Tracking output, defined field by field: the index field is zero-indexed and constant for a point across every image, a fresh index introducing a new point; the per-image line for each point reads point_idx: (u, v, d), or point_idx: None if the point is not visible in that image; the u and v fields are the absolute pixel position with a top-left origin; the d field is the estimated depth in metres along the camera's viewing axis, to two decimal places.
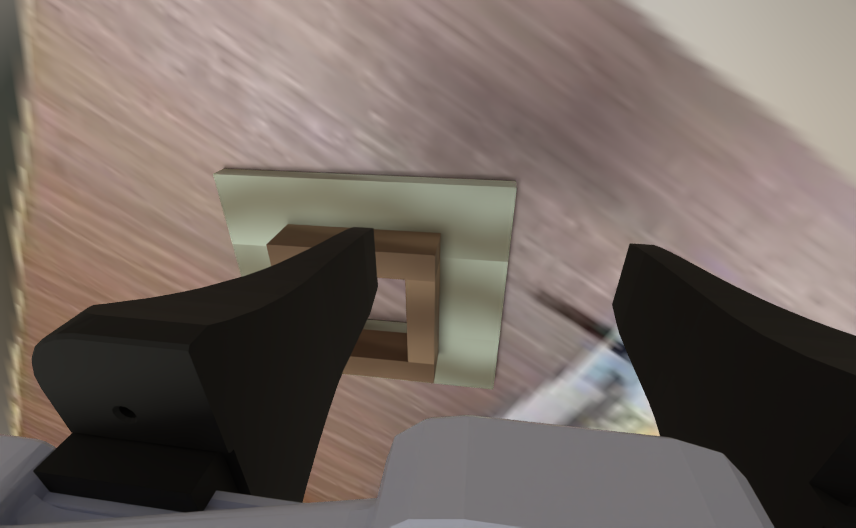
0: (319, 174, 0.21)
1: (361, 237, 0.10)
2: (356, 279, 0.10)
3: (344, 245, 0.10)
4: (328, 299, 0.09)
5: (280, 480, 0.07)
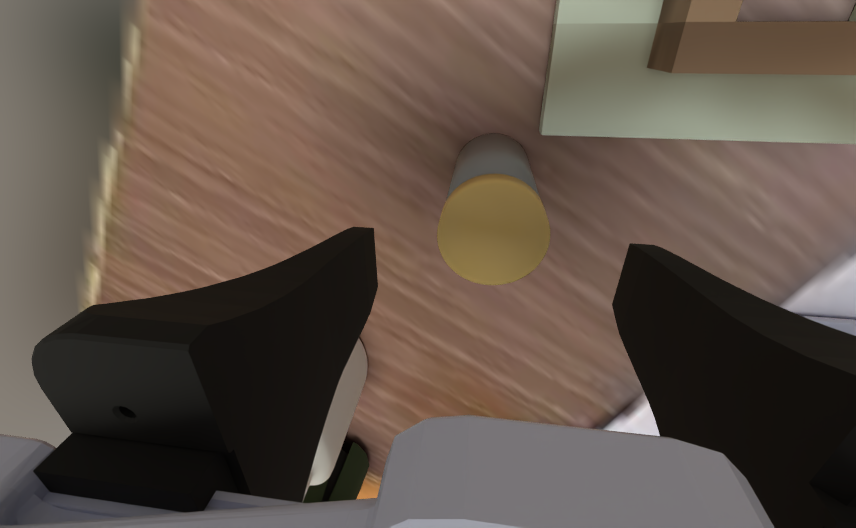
0: None
1: (361, 237, 0.10)
2: (356, 279, 0.10)
3: (344, 245, 0.10)
4: (328, 299, 0.09)
5: (280, 480, 0.07)
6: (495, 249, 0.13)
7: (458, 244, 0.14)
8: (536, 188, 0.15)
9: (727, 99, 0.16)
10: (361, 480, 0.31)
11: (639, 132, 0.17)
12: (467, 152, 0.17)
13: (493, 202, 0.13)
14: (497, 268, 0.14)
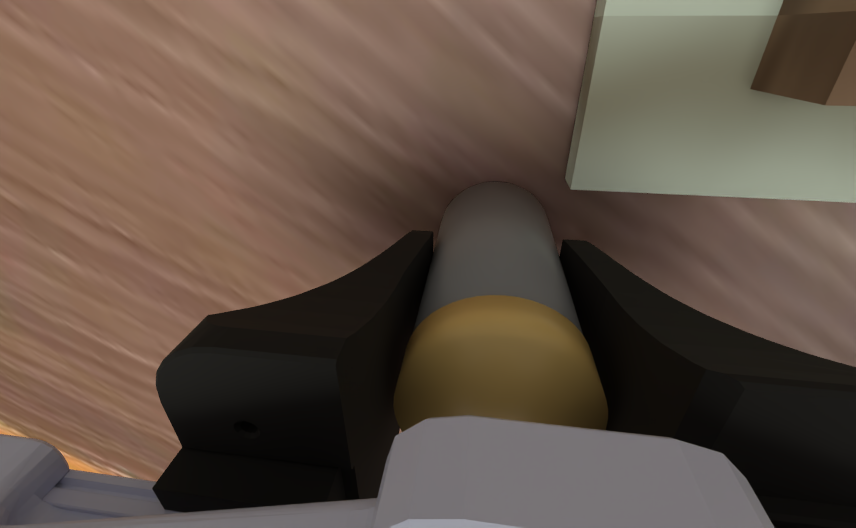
0: None
1: (427, 241, 0.10)
2: (422, 284, 0.10)
3: (415, 250, 0.09)
4: (405, 305, 0.09)
5: (375, 493, 0.07)
6: None
7: None
8: (571, 299, 0.09)
9: None
10: None
11: (726, 188, 0.11)
12: (456, 217, 0.11)
13: (499, 364, 0.06)
14: None
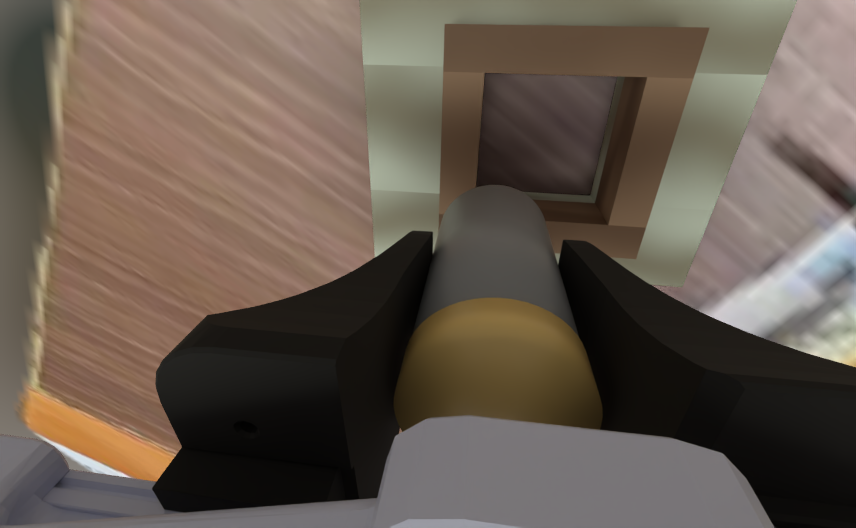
0: None
1: (427, 241, 0.10)
2: (422, 284, 0.10)
3: (415, 250, 0.09)
4: (405, 305, 0.09)
5: (375, 493, 0.07)
6: None
7: (430, 417, 0.07)
8: (570, 307, 0.09)
9: None
10: None
11: None
12: (460, 216, 0.11)
13: (504, 365, 0.07)
14: None
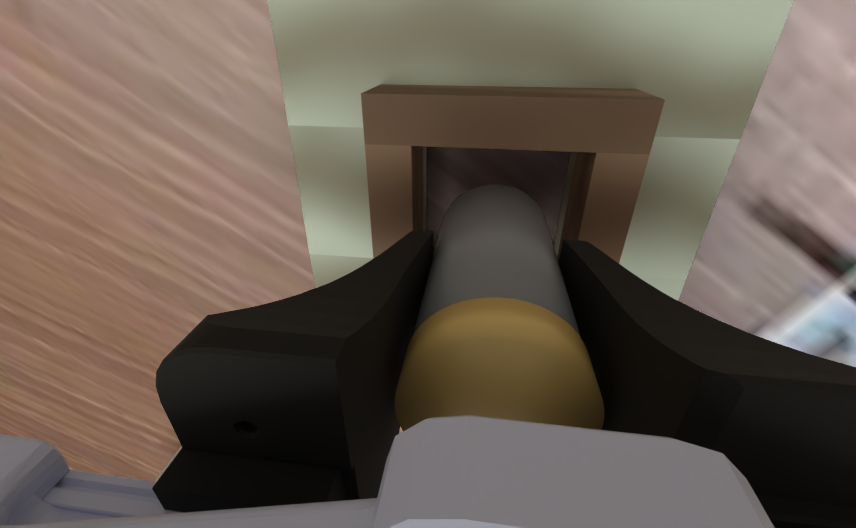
0: None
1: (427, 241, 0.10)
2: (422, 284, 0.10)
3: (415, 250, 0.09)
4: (405, 305, 0.09)
5: (375, 493, 0.07)
6: None
7: (431, 417, 0.07)
8: None
9: None
10: None
11: None
12: (462, 216, 0.11)
13: (506, 366, 0.07)
14: None
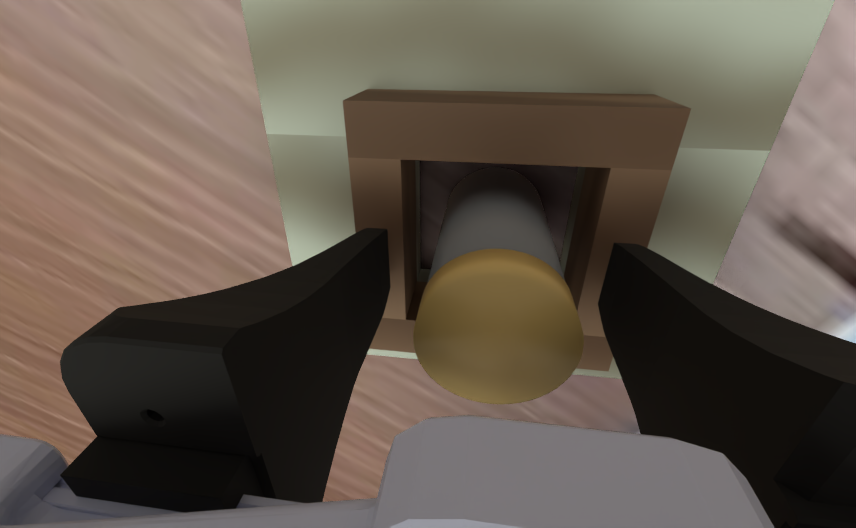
0: None
1: (376, 238, 0.10)
2: (371, 280, 0.10)
3: (360, 246, 0.10)
4: (346, 300, 0.09)
5: (302, 483, 0.07)
6: (497, 360, 0.09)
7: (443, 347, 0.09)
8: (560, 265, 0.10)
9: None
10: None
11: (393, 353, 0.18)
12: (466, 193, 0.13)
13: (505, 299, 0.08)
14: (497, 384, 0.09)
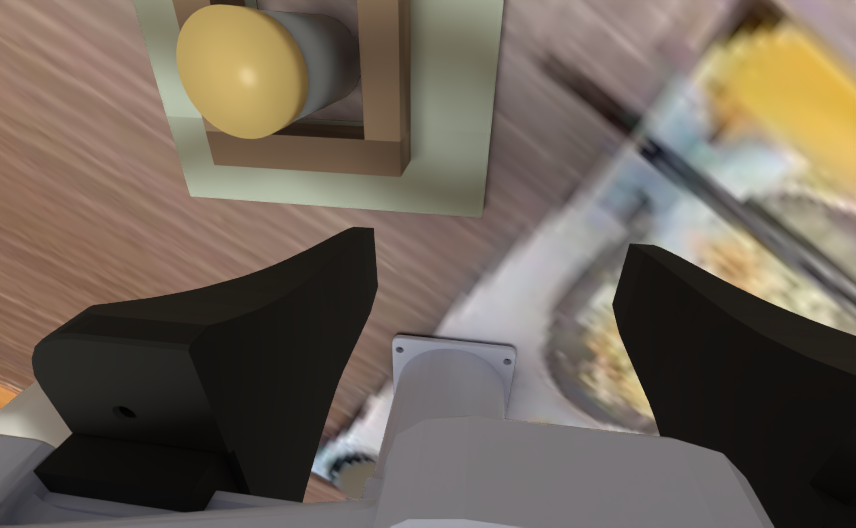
0: None
1: (361, 237, 0.10)
2: (356, 279, 0.10)
3: (344, 245, 0.10)
4: (328, 299, 0.09)
5: (280, 480, 0.07)
6: (241, 92, 0.12)
7: (201, 82, 0.12)
8: (316, 48, 0.14)
9: (309, 176, 0.20)
10: None
11: (259, 197, 0.21)
12: None
13: (227, 28, 0.11)
14: (247, 117, 0.13)
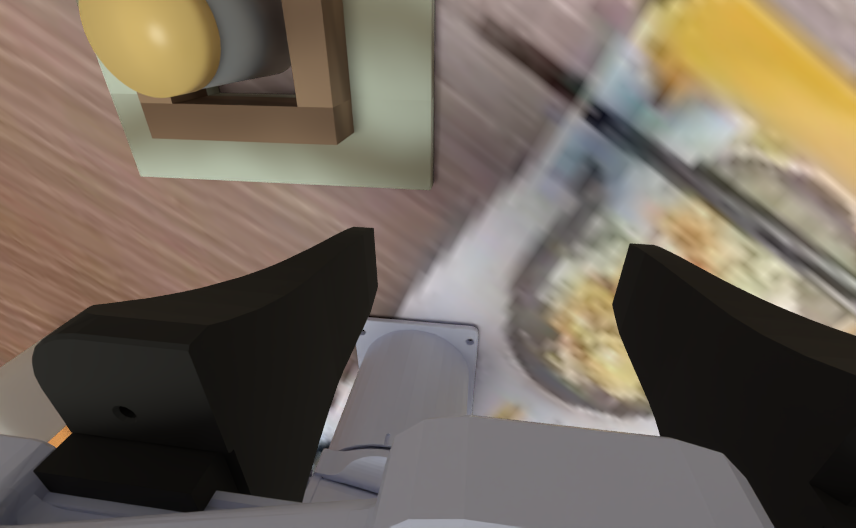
0: None
1: (361, 237, 0.10)
2: (356, 279, 0.10)
3: (344, 245, 0.10)
4: (328, 299, 0.09)
5: (280, 480, 0.07)
6: (147, 47, 0.12)
7: (108, 39, 0.12)
8: (232, 7, 0.14)
9: (255, 151, 0.20)
10: None
11: (208, 175, 0.21)
12: None
13: None
14: (157, 74, 0.13)
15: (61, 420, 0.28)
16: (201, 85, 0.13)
